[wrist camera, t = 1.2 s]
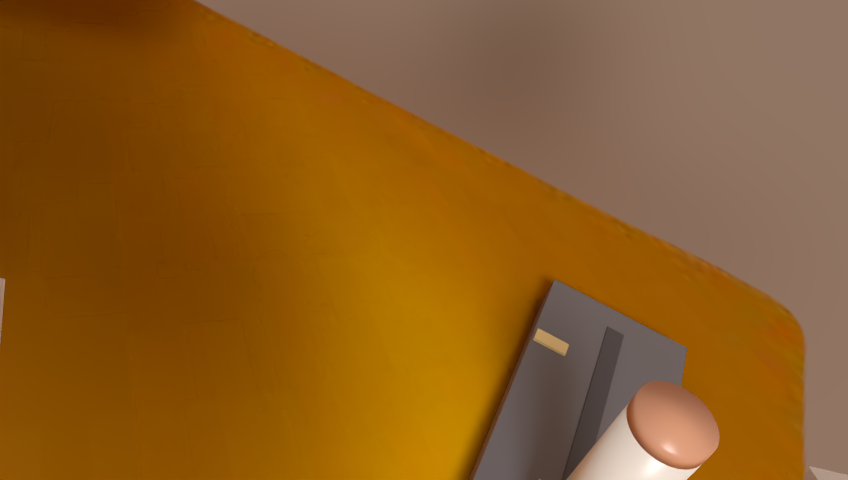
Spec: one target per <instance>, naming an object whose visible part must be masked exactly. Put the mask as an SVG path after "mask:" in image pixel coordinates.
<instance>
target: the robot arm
mask: <svg viewBox="0 0 848 480" xmlns="http://www.w3.org/2000/svg"><path fill="white" fill-rule="evenodd" d="M4 288H5V279H3V278H0V341H1V328H2V315H3V302H4ZM804 480H848V475H845V474H841V473H837V472H832V471H828V470H824V469H820V468H815V467H811V466H808V469H807V472H806V476H805V479H804Z"/></svg>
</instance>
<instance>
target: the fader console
mask: <svg viewBox="0 0 848 480" xmlns="http://www.w3.org/2000/svg"><path fill="white" fill-rule="evenodd" d="M686 352H687V348H686V347H684V346H682V345H680V344H678V343H676V342H674V341H672V340H671V339H669V338H667V337H665V336H663V335H661V334H659V333H657V332H655V331H653V330H651V329H649V328H647V327H646V326H644V325H642V324H640V323H638V322H636V321H634V320H632V319H630V318H628V317H626V316H624V315H622V314H621V313H619V312H617V311H615V310H613V309H611V308H609V307H607V306H605V305H603V304H601V303H599V302H597V301H596V300H594V299H592V298H590V297H588V296H586V295H584V294H582V293H580V292H578V291H576V290H574V289H572V288H571V287H569V286H567V285H565V284H563V283H561V282H559V281H557V280H554V282H553V283H552V285H551V287H550V288H549V290H548V291H547V293H546V295H545V296H544V298H543V300H542V303H541V305H540V308H539V310H538V312H537V315H536V317H535V320H534V322H533V325H532V327H531V329H530V332H529V334H528V337H527V339H526V341H525V344H524V346H523V349H522V351H521V354H520V356H519V358H518V361H517V363H516V366H515V368H514V371H513V373H512V375H511V378H510V380H509V383H508V385H507V388H506V390H505V392H504V395H503V397H502V400H501V402H500V405H499V407H498V409H497V412H496V414H495V417H494V419H493V421H492V424H491V426H490V429H489V431H488V434H487V436H486V438H485V441H484V443H483V446H482V448H481V451H480V453H479V455H478V458H477V460H476V463H475V465H474V468H473V470H472V472H471V475H470V477H469V480H539V479H541V480H566V479H567V478H568V477H569V476H570V474H571V473H572V472H573V471H574V470H575V468H576V467H577V466H578V465H579V463H580V462H581V461H582V460H583V458H584V457H585V456H586V455H587V453H588V452H589V451H590V450H591V449H592V447H593V446H594V445H595V444H596V442H597V441H598V440H599V439H600V437H601V436H602V435H603V434H604V432H605V431H606V430H607V429H608V428H609V426H610V425H611V424H612V423H613V421H614V420H615V419H616V418H617V416H618V415H619V414H620V413H621V412H622V410H623V409H624V408H625V407H626V405H627V404H628V403H629V402H630V400H631V399H632V398H633V397H634V395H635V394H636V393H637V392H638V391H639V389H640V388H641V387H642V386H643V385H645V384H646V383H649V382H652V381H666V382H670V383H674V384H676V385H679V386H681V382H682V376H683V370H684V364H685V358H686Z"/></svg>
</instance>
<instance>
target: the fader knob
mask: <svg viewBox="0 0 848 480" xmlns="http://www.w3.org/2000/svg"><path fill="white" fill-rule="evenodd" d="M718 444H719V430H718V426H717V424H716V421H715V419H714V417H713V415H712V414H711V412H710V411H709V409H708V408H707V407H706V406H705V405H704V404H703V402H702V401H701V400H700V399H698V398H697V397H696V396H695V395H694V394H692V393H691V392H689V391H688V390H686V389H685V388H683V387H681V386H679V385H676V384H674V383H670V382H666V381H652V382H649V383H646V384H645V385H643V386H642V387H641V388H640V389H639V391H638V392H637V393H636V394H635V395H634V397H633V398H632V399H631V400H630V402H629V403H628V404H627V405H626V407H625V408H624V409H623V410H622V412H621V413H620V414H619V415H618V416H617V418H616V419H615V420H614V421H613V423H612V424H611V425H610V426H609V428H608V429H607V430H606V431H605V432H604V434H603V435H602V436H601V437H600V439H599V440H598V441H597V442H596V444H595V445H594V446H593V447H592V449H591V450H590V451H589V452H588V453H587V455H586V456H585V457H584V458H583V460H582V461H581V462H580V463H579V465H578V466H577V467H576V468H575V470H574V471H573V472H572V473H571V474H570V476H569V477H568V478H567V479H566V480H687V479H688V478H689V477H690V476H691V475H692V474H693V473H694V472H695V471H696V470H697V469H698V468H699V467H700V466H701V465H702V464H703V463H704V462H705V461H706V460H707V459H708V458H709V457H710V456H711V455H712V454H713V453H714V452H715V450H716V449H717V447H718ZM539 480H541V479H539Z"/></svg>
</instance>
